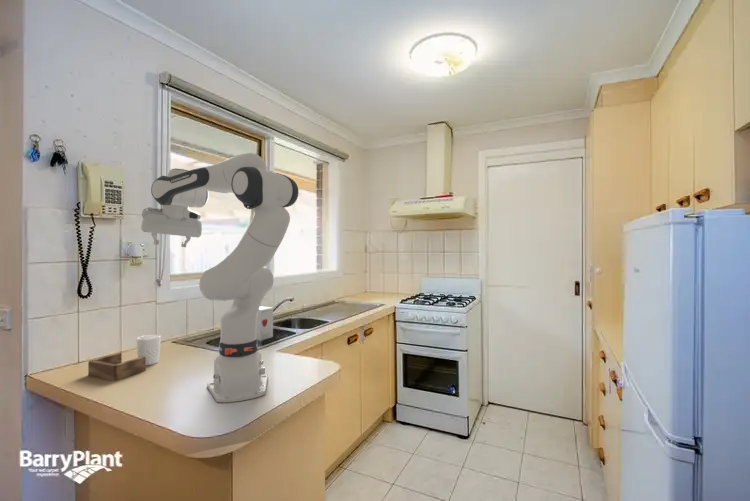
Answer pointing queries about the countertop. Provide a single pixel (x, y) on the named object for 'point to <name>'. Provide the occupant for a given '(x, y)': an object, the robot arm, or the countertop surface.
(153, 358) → the white cup
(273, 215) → the robot arm
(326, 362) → the countertop surface
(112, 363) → the walnut rest
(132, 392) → the countertop surface
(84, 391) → the countertop surface
